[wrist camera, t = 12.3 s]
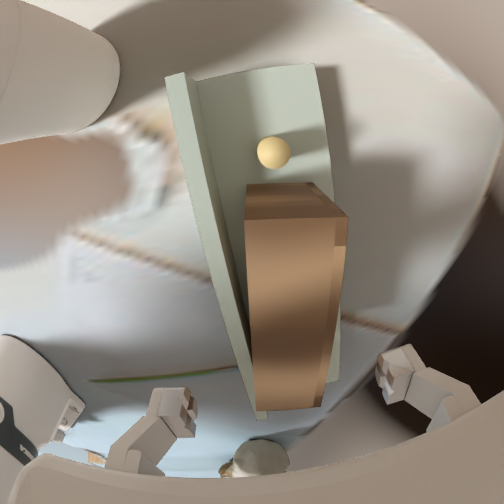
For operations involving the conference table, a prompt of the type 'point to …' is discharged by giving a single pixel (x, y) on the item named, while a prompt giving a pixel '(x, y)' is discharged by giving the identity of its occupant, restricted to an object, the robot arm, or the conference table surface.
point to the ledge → (247, 172)
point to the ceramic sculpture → (256, 460)
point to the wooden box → (292, 290)
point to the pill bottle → (51, 73)
